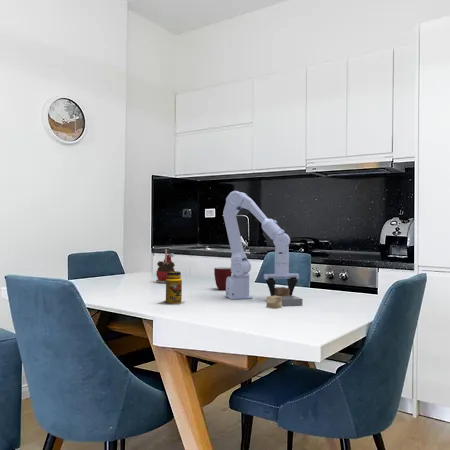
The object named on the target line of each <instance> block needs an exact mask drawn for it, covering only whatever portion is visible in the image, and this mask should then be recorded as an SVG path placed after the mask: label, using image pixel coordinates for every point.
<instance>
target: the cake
mask: <svg viewBox="0 0 450 450" xmlns="http://www.w3.org/2000/svg"><path fill="white" fill-rule="evenodd" d="M173 257H175V254H174V253H168V247H164V259H163V261H162V260H161V261H160V260H159V261H158V262H157V264H156V265H157V266H158V268H157V270H156V274H155V275H156V277H157V278H156V283H160V284H166V279H167V272H170V271H175V268H174V267H175V262H173V261H172V258H173Z"/></svg>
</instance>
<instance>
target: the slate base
mask: <svg viewBox="0 0 450 450" xmlns="http://www.w3.org/2000/svg"><path fill="white" fill-rule="evenodd" d="M279 297H282V307H295V306H296V307H299V306H303V298H301V297H298V296H295V295H292V296H279Z"/></svg>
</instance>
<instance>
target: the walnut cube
mask: <svg viewBox="0 0 450 450" xmlns="http://www.w3.org/2000/svg"><path fill="white" fill-rule="evenodd" d="M275 296H290V289H289V288H288V287H280V286H279V287H276V286H275Z"/></svg>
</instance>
